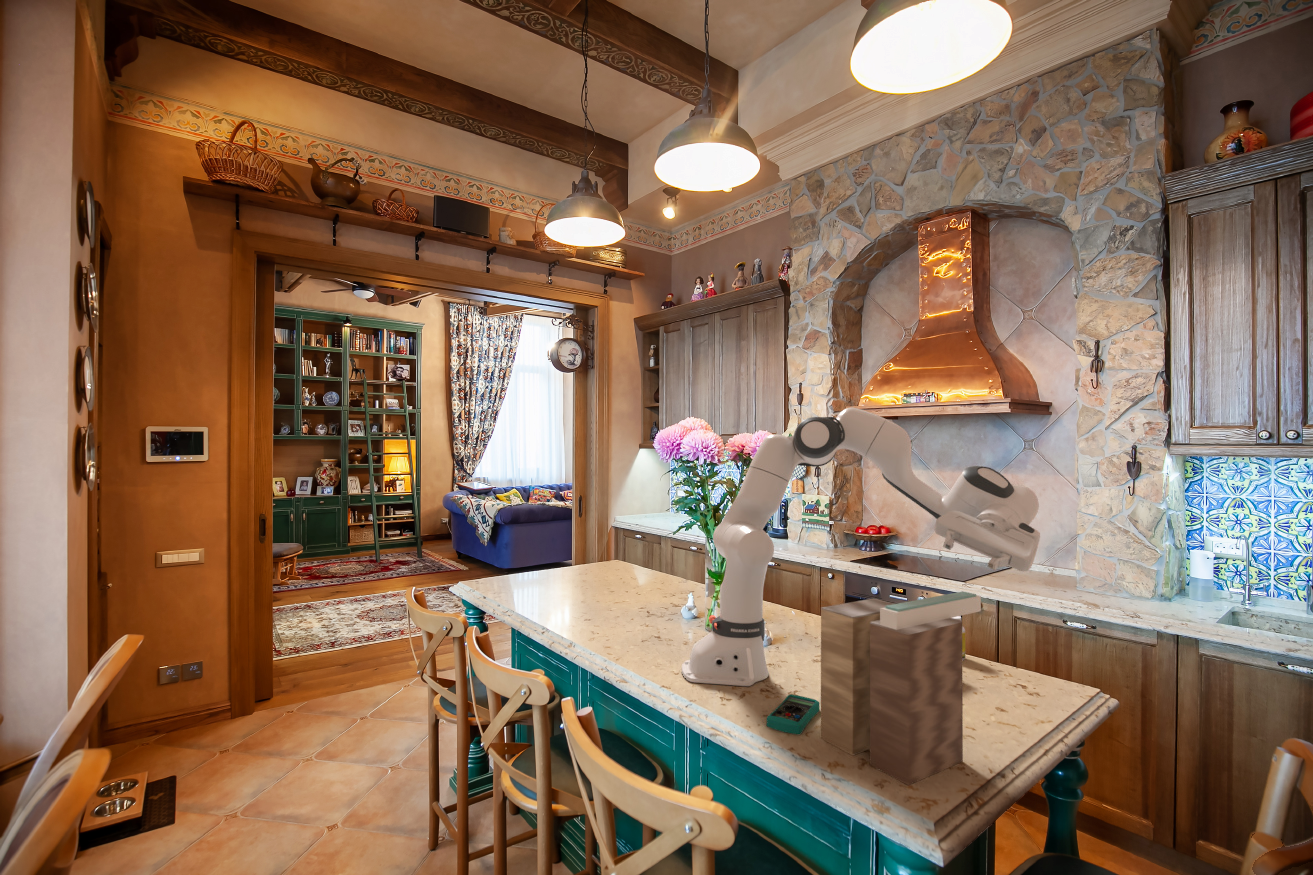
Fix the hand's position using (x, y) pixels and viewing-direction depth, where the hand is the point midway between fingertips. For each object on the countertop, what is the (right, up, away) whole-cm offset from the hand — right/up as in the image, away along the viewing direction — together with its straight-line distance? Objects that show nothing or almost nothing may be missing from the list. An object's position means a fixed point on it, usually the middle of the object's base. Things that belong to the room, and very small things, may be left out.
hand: (968, 555), depth 129 cm
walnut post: (-19, -35, -17) cm, 43 cm away
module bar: (-14, -9, -14) cm, 22 cm away
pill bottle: (+17, -37, +42) cm, 58 cm away
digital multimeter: (-37, -36, +1) cm, 52 cm away
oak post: (-25, -35, -7) cm, 44 cm away
